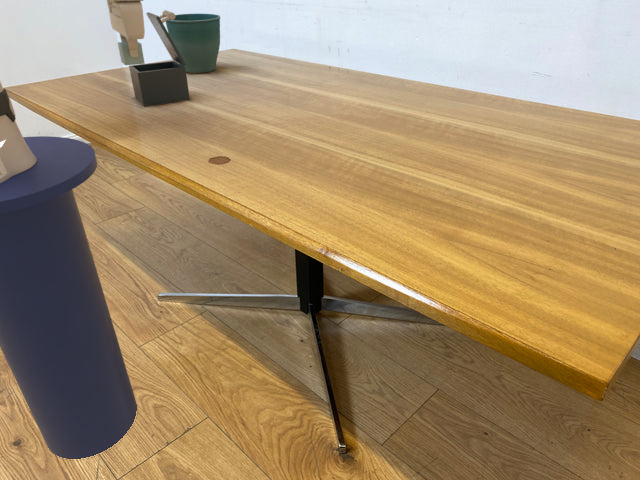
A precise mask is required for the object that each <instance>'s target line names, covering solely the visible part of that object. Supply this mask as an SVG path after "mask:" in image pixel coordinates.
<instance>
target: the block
mask: <svg viewBox="0 0 640 480" xmlns="http://www.w3.org/2000/svg"><path fill="white" fill-rule="evenodd" d="M117 46H118V52H119V57H120V62H121V63H122V64H123V65H124V66H131V65H140V64H146V63H145V58H144V52H143V46H142V43H141V42H139V41H138V47H137V50H138V57H133V58H132V57H131V56H130V55H129V51H128V49H129V48H128V42H122V41H119V42H117Z"/></svg>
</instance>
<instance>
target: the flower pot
mask: <svg viewBox="0 0 640 480" xmlns="http://www.w3.org/2000/svg"><path fill="white" fill-rule="evenodd" d="M165 27H166V30H167V32H168V33H169V35H170V37H171V39H172V40H173V42H174V44H175V46H176V48H177V49H178V51H179V53H180V55H181V56H182V58H183V60H184V62H185V64H186V65H185V66H184V67H185V69H186V73H189V74H203V73H210V72H213V71H215V70H216V69H217V62H218V56H219V52H220V46H221V15H219V14H216V13H180V14H175V19H174V20H170V19H169V20H167V21H165ZM180 65H181V64H180ZM182 66H183V65H182Z"/></svg>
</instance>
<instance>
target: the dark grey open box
mask: <svg viewBox="0 0 640 480" xmlns="http://www.w3.org/2000/svg"><path fill="white" fill-rule="evenodd" d="M128 68H129V73H130V78H131V83H132V88H133V93H134V99H136V100H137V101H138V102H139V103H140V104H141V105H142V106H143V107H144V108H146V107H152V106H160V105H165V104H173V103H181V102H186V101H190V100H191V98H190V91H189V83H188V77H187V76H188V75H187V72H186V69H185V67H184V66H182V65H180V64H179V63H178V62H176V61H174V60H169V61H168V60H167V61H159V62H151V63H149V62H148V63H145V64H136V65H128Z"/></svg>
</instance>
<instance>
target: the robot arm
mask: <svg viewBox="0 0 640 480" xmlns="http://www.w3.org/2000/svg"><path fill="white" fill-rule="evenodd" d="M143 1H144V0H106V4H107V9H108V14H109V21H110V25H111V28H112V30H113V31H115V32H117V33H119V38H120V42H128V48H129V49H128V51H129V55H130V56H131V57H132V58H133V57H138V50H137V47H138V42H139V41H138V40H143V39H144V38H145V33H146V31H145V20H144V9H143V4H142V2H143ZM16 116H17V115H16V112H15V108H14V106H13V103H12V100H11V98H10V95H9V94H8V91H7V90H6V89H5V88H4V87H3V84H2V82H1V80H0V183H2V182H4V181H6V180H7V179H9V178H10V177H12V176H14V175H17V174H19V173H21V172H24V171H26V170H28V169H29V168H31V167H32V166H34V165H35V163H36V162H37V158H36V157H35V155H34V154H33V153H32V151H31V150H30V148H29V147H28V145H27V143H26V142H25V140H24V138H23V137H24V136H23V134H22V132H21V130H20V128H19V125H18V123H17V121H16V119H17V118H16Z"/></svg>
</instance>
